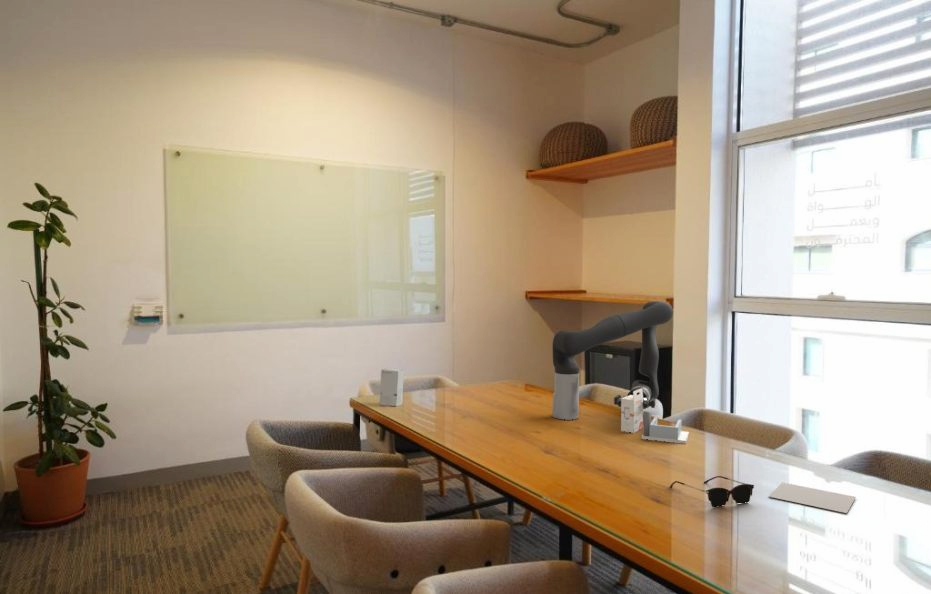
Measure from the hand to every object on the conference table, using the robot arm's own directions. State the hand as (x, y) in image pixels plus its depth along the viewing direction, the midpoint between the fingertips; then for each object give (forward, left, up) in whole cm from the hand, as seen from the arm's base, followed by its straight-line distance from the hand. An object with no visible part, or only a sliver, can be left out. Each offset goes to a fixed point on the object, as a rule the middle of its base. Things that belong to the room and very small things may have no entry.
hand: (631, 405), depth 221 cm
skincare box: (-98, +1, -9) cm, 98 cm away
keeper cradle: (+12, -4, -9) cm, 15 cm away
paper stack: (+57, -46, -10) cm, 74 cm away
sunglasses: (+28, -58, -10) cm, 66 cm away
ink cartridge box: (0, +1, -9) cm, 9 cm away
